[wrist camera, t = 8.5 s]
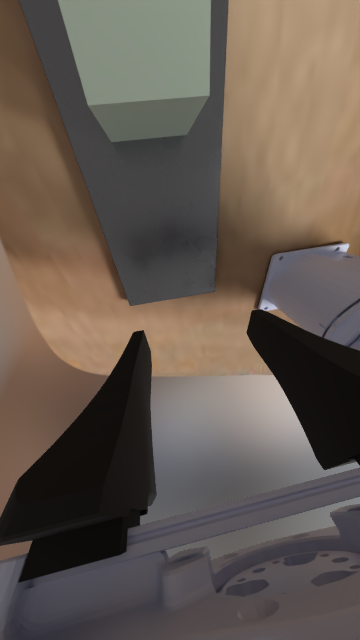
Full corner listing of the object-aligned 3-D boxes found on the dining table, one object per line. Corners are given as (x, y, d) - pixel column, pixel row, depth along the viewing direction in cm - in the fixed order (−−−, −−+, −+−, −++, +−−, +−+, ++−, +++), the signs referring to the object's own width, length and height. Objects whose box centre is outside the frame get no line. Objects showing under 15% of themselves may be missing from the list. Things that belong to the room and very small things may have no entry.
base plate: (224, -133, 7) (299, -456, 3) (211, 287, 19) (224, 305, 16) (-22, -135, 6) (-224, -535, 3) (131, 300, 18) (127, 322, 15)
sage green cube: (179, -28, 7) (215, -294, 3) (186, 134, 10) (209, 95, 6) (69, -25, 7) (-33, -317, 3) (111, 142, 10) (88, 105, 6)
